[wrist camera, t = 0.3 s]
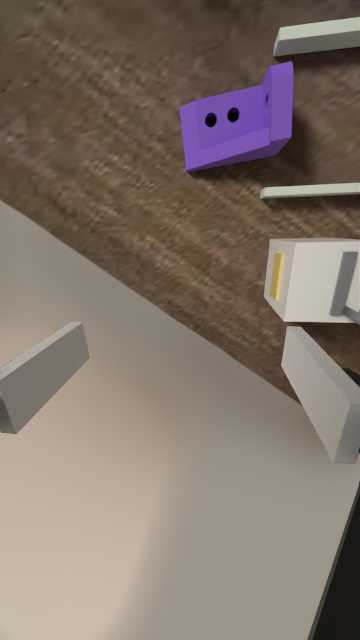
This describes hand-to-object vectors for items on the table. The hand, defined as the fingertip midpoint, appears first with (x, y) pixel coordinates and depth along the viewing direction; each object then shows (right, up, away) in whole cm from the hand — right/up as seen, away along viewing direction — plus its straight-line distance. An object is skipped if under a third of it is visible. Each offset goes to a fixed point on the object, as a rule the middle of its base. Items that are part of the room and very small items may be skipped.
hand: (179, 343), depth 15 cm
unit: (+18, +9, +21) cm, 29 cm away
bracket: (+6, +26, +16) cm, 32 cm away
